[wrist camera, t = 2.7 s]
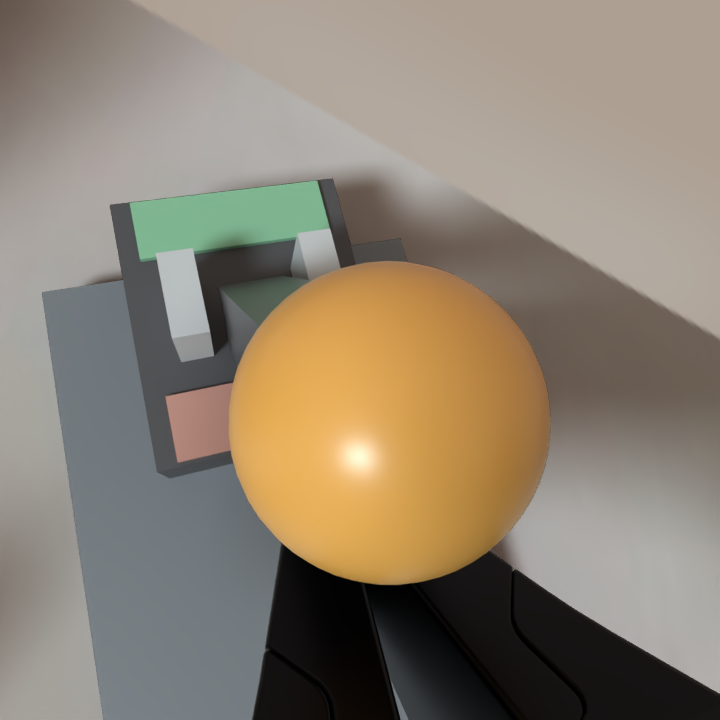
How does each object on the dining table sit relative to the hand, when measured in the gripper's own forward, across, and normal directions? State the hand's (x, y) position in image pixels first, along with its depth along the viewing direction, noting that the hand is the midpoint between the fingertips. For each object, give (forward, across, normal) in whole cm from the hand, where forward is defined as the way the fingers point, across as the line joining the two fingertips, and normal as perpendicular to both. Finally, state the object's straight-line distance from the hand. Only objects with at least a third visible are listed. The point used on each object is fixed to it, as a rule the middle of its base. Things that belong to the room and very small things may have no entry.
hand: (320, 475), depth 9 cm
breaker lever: (+7, 0, 0) cm, 7 cm away
